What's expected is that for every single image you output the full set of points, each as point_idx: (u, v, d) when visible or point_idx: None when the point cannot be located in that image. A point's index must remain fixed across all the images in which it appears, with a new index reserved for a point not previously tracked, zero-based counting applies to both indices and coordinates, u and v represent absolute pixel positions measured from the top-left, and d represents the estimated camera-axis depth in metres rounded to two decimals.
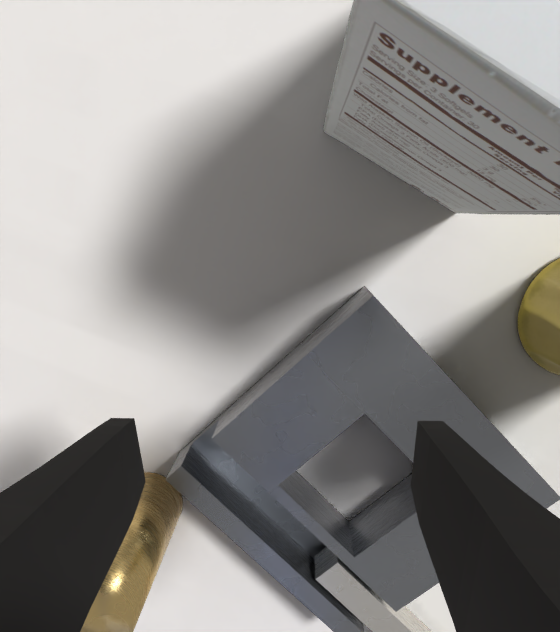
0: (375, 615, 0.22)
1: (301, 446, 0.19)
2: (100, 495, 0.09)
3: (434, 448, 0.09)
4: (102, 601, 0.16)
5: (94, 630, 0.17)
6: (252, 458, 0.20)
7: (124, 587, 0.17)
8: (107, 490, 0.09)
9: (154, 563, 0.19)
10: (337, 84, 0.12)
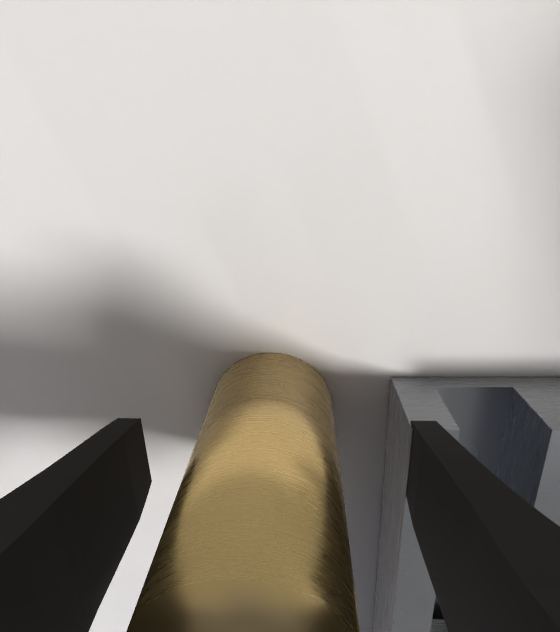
0: None
1: None
2: (107, 496, 0.09)
3: (426, 448, 0.09)
4: None
5: None
6: None
7: None
8: (114, 490, 0.09)
9: None
10: None
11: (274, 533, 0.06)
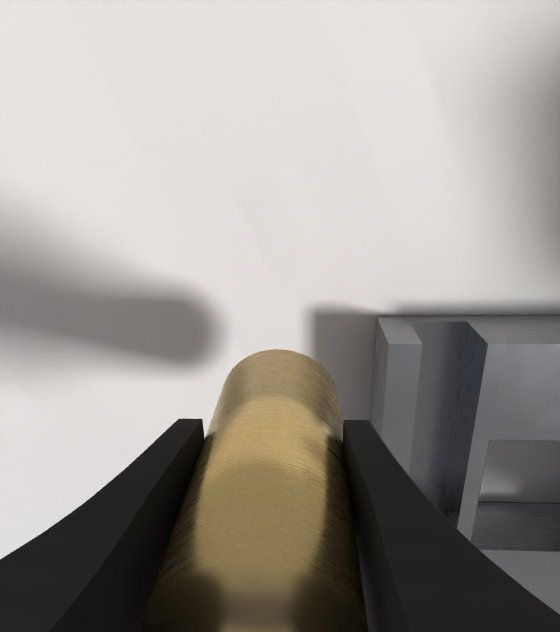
0: None
1: (557, 423, 0.15)
2: (179, 497, 0.09)
3: (350, 447, 0.09)
4: None
5: None
6: (500, 396, 0.14)
7: None
8: (185, 491, 0.09)
9: None
10: None
11: (283, 519, 0.07)
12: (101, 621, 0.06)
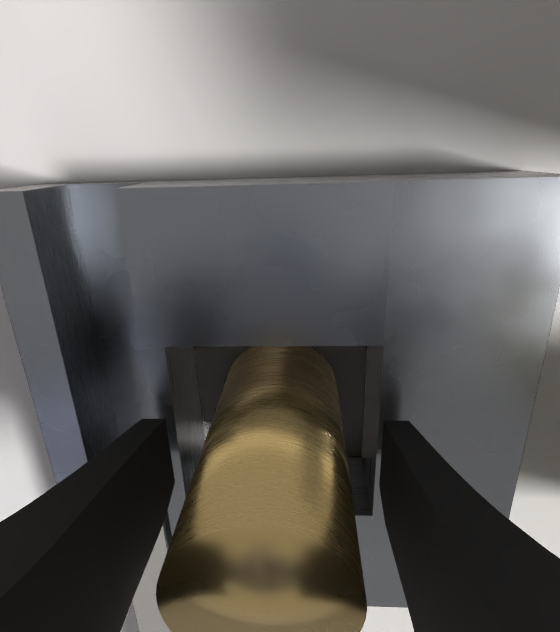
0: (152, 586, 0.14)
1: (250, 318, 0.10)
2: (136, 497, 0.09)
3: (395, 448, 0.09)
4: (320, 601, 0.07)
5: (245, 626, 0.07)
6: (158, 276, 0.10)
7: None
8: (143, 491, 0.09)
9: None
10: None
11: (287, 490, 0.07)
12: (35, 619, 0.06)
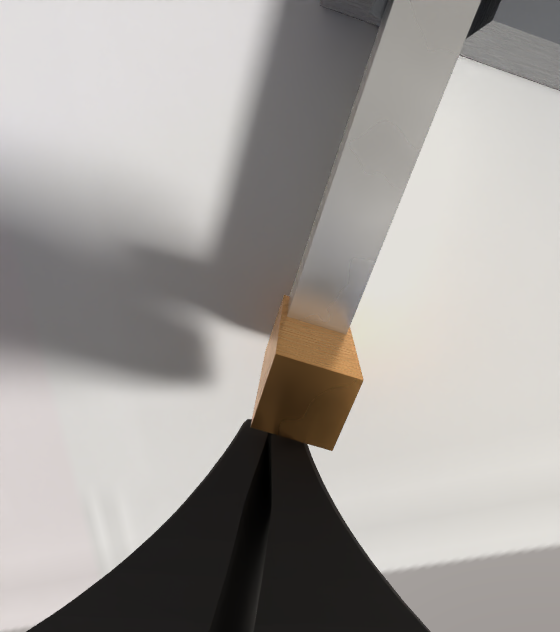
0: None
1: None
2: (261, 499, 0.09)
3: None
4: None
5: None
6: None
7: None
8: (263, 493, 0.09)
9: None
10: None
11: None
12: (227, 626, 0.06)
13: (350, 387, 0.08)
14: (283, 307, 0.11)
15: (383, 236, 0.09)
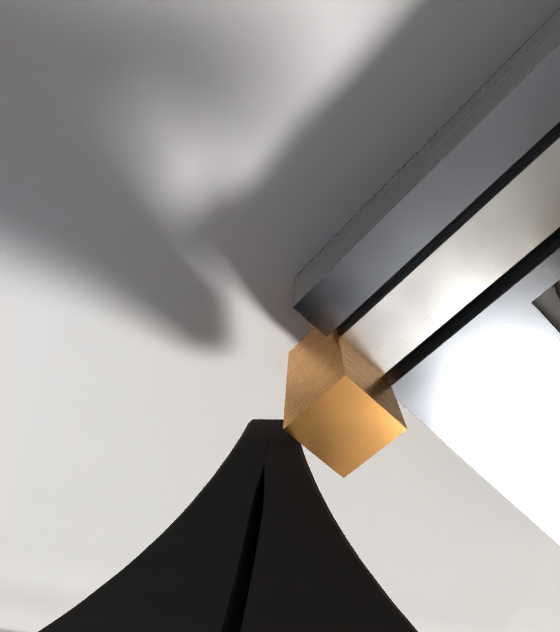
0: None
1: None
2: None
3: None
4: None
5: None
6: None
7: None
8: None
9: None
10: None
11: None
12: (237, 626, 0.06)
13: (392, 430, 0.09)
14: None
15: (462, 305, 0.10)
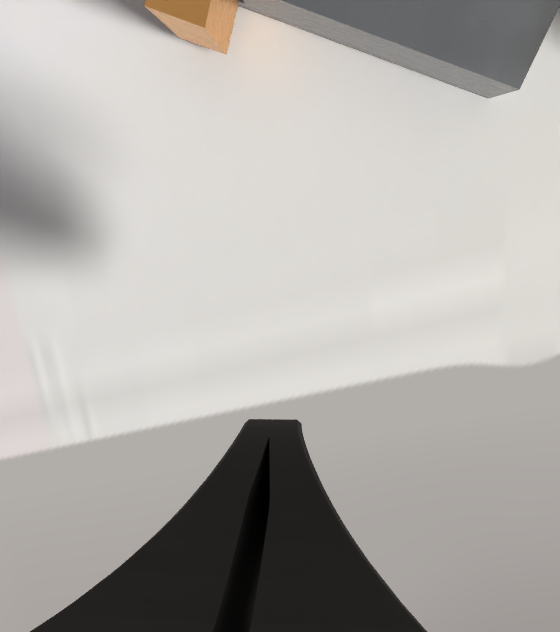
0: None
1: None
2: (263, 499, 0.09)
3: None
4: None
5: None
6: None
7: None
8: (265, 493, 0.09)
9: None
10: None
11: None
12: (231, 626, 0.06)
13: None
14: None
15: None
